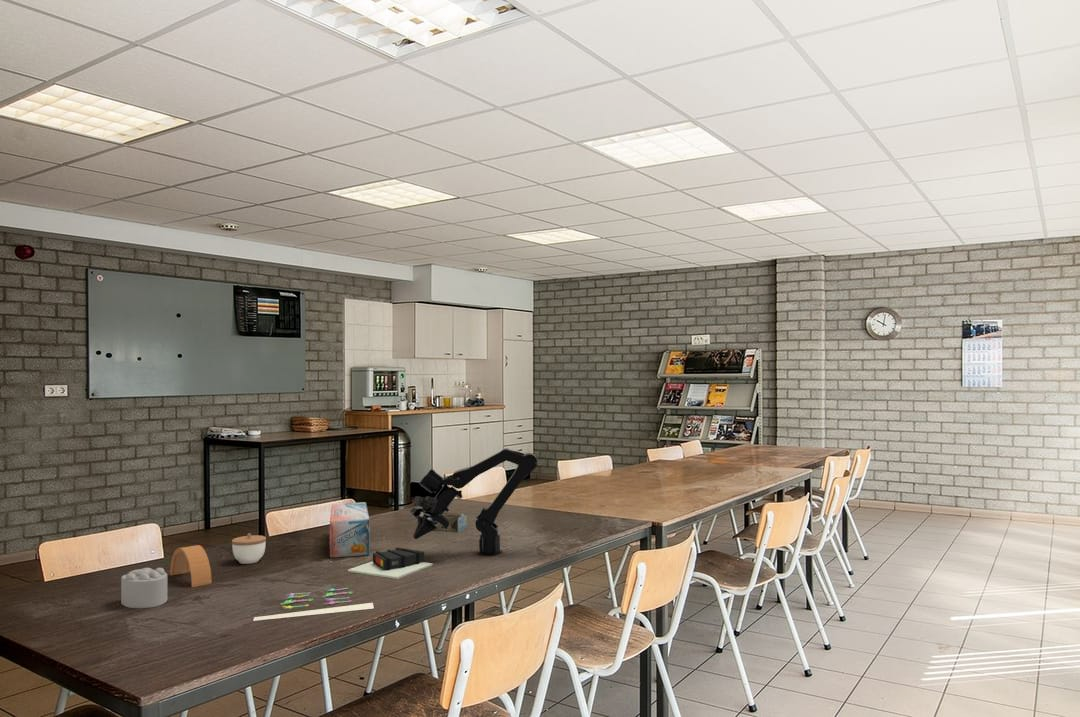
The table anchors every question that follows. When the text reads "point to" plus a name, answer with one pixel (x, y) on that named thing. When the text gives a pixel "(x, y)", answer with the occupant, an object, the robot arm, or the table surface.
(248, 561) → the lidded jar
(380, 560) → the black flat block
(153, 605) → the lumpy-topped squat cylinder
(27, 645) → the table surface
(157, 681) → the table surface
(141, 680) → the table surface
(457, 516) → the beverage carton
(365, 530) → the soda box
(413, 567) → the rubber mat
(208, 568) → the arch
